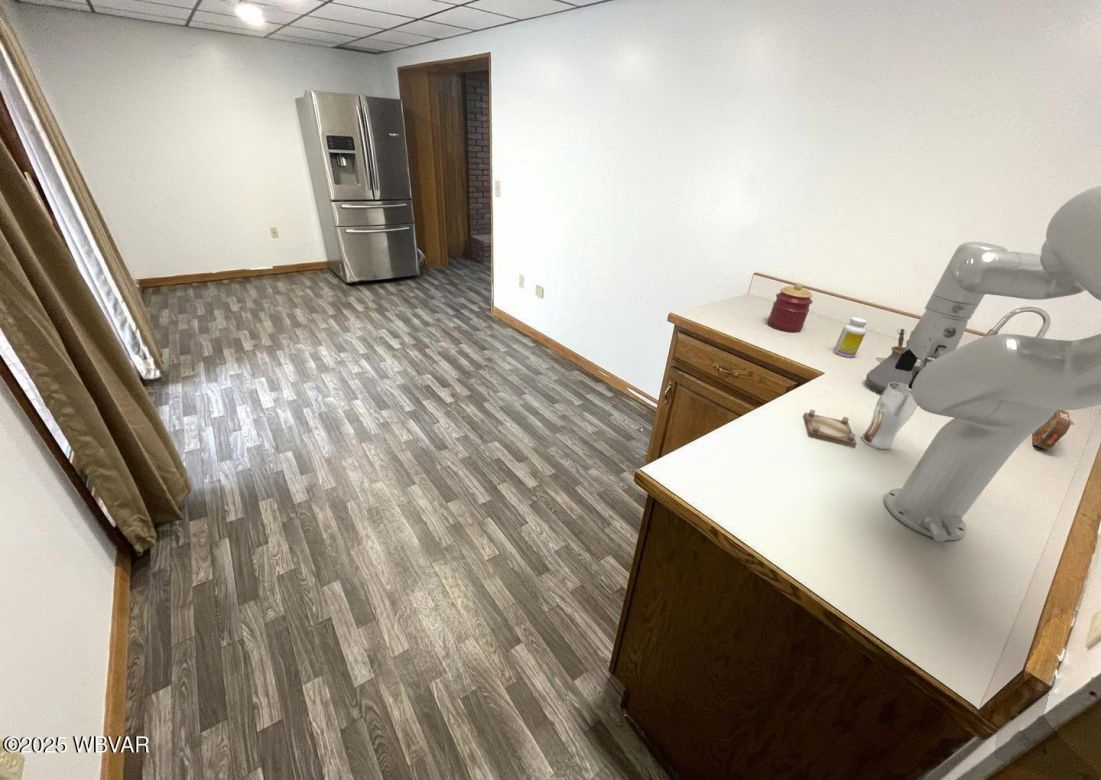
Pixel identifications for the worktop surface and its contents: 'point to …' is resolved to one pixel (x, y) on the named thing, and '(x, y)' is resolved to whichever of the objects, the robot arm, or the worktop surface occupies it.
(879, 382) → the coffee pot
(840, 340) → the supplement bottle
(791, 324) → the canister
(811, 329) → the worktop surface
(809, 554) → the worktop surface
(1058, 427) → the brown snack package
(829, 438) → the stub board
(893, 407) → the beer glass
